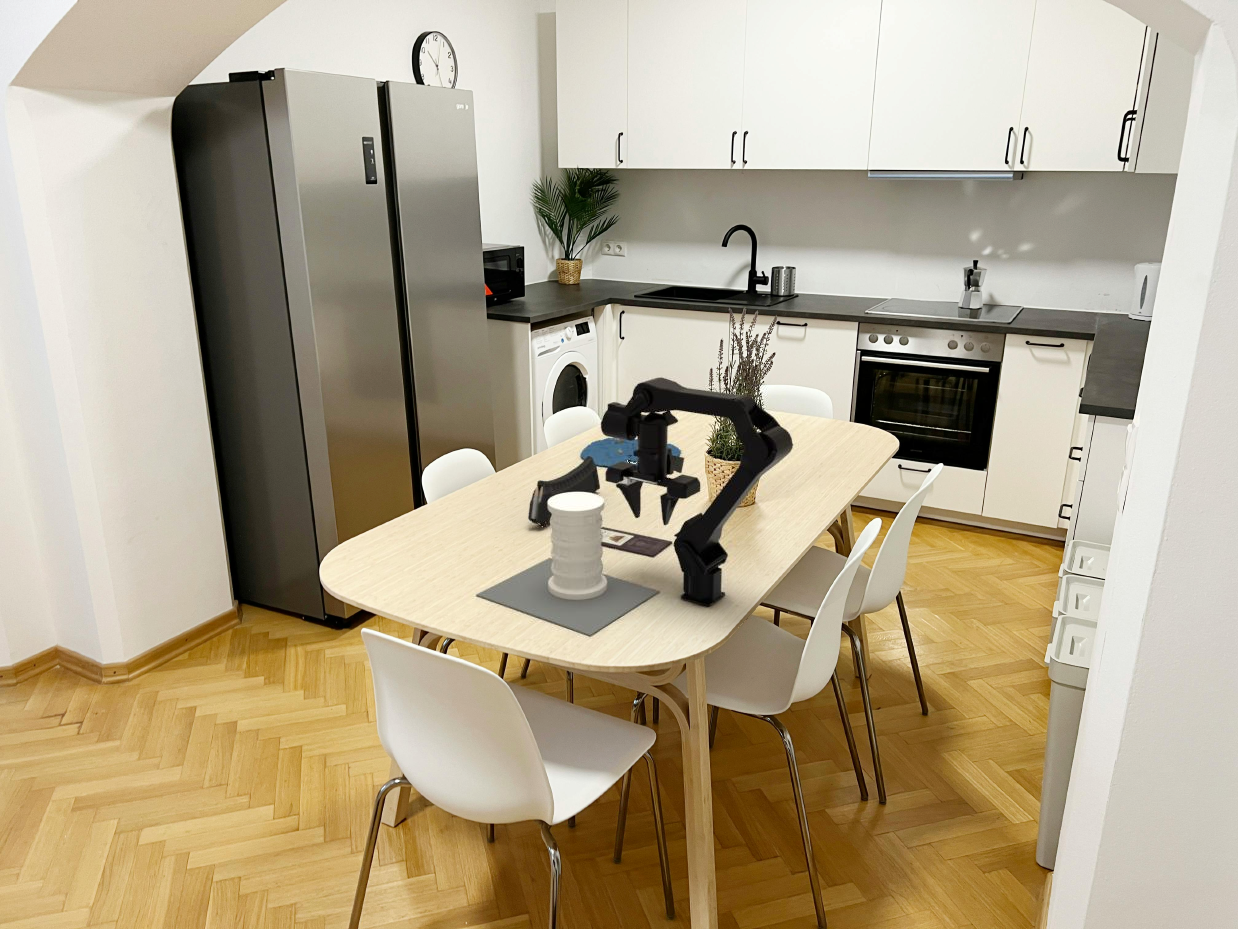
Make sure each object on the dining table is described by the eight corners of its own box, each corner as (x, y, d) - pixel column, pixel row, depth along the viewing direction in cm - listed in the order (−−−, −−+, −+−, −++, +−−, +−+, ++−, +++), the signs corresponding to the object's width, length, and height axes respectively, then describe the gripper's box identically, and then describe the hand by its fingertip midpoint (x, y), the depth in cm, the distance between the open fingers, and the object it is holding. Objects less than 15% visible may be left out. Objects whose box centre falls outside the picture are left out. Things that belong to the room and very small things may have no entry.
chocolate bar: (653, 555, 190) (581, 539, 199) (653, 559, 191) (581, 543, 199) (672, 541, 198) (602, 526, 206) (672, 545, 198) (602, 530, 207)
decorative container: (606, 574, 181) (605, 490, 176) (607, 599, 170) (606, 511, 165) (549, 575, 181) (547, 491, 176) (546, 600, 170) (544, 512, 165)
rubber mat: (659, 592, 174) (659, 590, 174) (590, 636, 157) (590, 635, 157) (549, 559, 190) (549, 557, 190) (476, 595, 173) (475, 594, 173)
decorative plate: (702, 465, 259) (704, 448, 257) (613, 481, 244) (613, 463, 242) (649, 437, 283) (649, 422, 281) (564, 450, 268) (564, 434, 266)
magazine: (593, 456, 232) (535, 452, 204) (604, 457, 230) (547, 454, 203) (585, 521, 232) (526, 526, 205) (596, 523, 231) (538, 528, 204)
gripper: (716, 442, 171) (713, 519, 176) (636, 428, 182) (636, 500, 186) (685, 456, 163) (683, 536, 167) (603, 440, 173) (604, 515, 178)
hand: (651, 521), depth 175 cm, fingers open, 6 cm apart
